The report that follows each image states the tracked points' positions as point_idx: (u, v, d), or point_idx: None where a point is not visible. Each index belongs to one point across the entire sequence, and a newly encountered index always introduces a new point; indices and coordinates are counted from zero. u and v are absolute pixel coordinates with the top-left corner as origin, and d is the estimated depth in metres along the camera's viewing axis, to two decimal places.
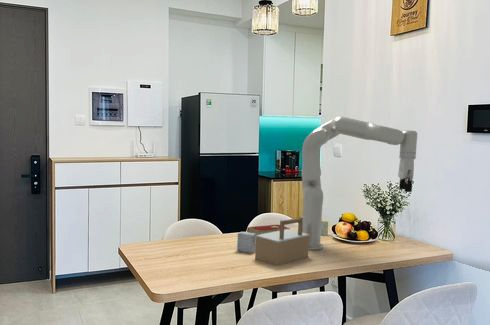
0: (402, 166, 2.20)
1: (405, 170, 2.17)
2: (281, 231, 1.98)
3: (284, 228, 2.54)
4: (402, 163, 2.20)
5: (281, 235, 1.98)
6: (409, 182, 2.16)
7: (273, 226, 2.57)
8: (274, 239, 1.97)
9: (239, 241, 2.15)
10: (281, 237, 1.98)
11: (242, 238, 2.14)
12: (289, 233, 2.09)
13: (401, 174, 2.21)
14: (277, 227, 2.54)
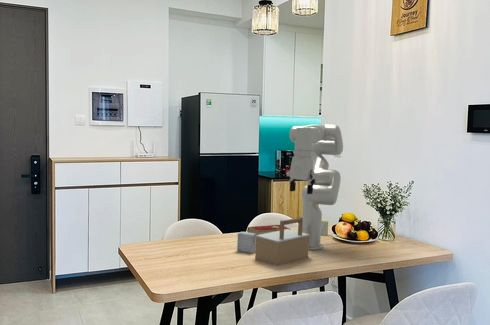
0: (302, 166, 1.98)
1: (308, 170, 1.97)
2: (281, 231, 1.98)
3: (284, 228, 2.53)
4: (302, 163, 1.99)
5: (281, 235, 1.98)
6: (313, 183, 1.98)
7: (273, 226, 2.57)
8: (274, 239, 1.97)
9: (239, 241, 2.15)
10: (281, 237, 1.98)
11: (242, 238, 2.14)
12: (289, 233, 2.09)
13: (301, 175, 1.99)
14: (277, 227, 2.54)
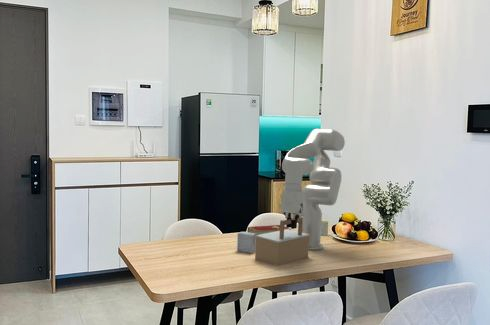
0: (293, 199, 1.98)
1: (298, 204, 1.97)
2: (281, 231, 1.98)
3: (284, 228, 2.53)
4: (292, 196, 1.98)
5: (281, 235, 1.98)
6: (297, 218, 2.00)
7: (274, 226, 2.57)
8: (274, 239, 1.97)
9: (239, 241, 2.15)
10: (281, 237, 1.98)
11: (242, 238, 2.14)
12: (289, 233, 2.09)
13: (291, 208, 1.99)
14: (277, 227, 2.53)
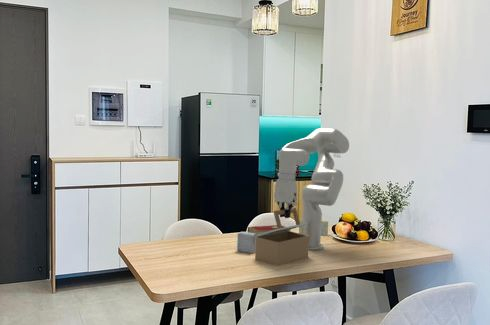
0: (286, 189, 2.01)
1: (292, 193, 2.00)
2: (277, 221, 1.99)
3: None
4: (286, 186, 2.01)
5: (278, 225, 1.99)
6: (290, 208, 2.03)
7: (274, 226, 2.56)
8: (273, 230, 1.97)
9: (239, 241, 2.15)
10: (279, 227, 1.98)
11: (242, 238, 2.14)
12: None
13: (285, 198, 2.01)
14: None
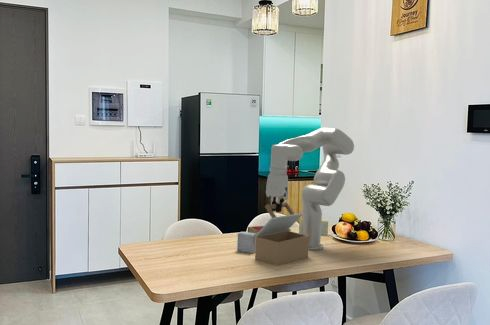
0: (278, 183, 2.04)
1: (283, 188, 2.03)
2: (271, 213, 2.02)
3: None
4: (277, 180, 2.04)
5: (273, 216, 2.01)
6: (281, 202, 2.06)
7: None
8: None
9: (239, 241, 2.15)
10: None
11: (242, 238, 2.14)
12: None
13: (276, 192, 2.05)
14: None
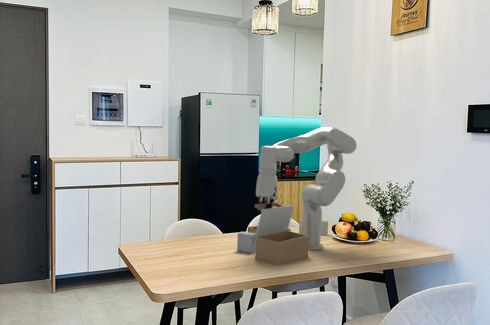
0: (267, 184, 2.09)
1: (272, 188, 2.07)
2: (261, 209, 2.05)
3: None
4: (266, 181, 2.09)
5: None
6: (271, 202, 2.10)
7: None
8: None
9: (239, 241, 2.15)
10: None
11: (242, 238, 2.14)
12: None
13: (265, 192, 2.09)
14: None
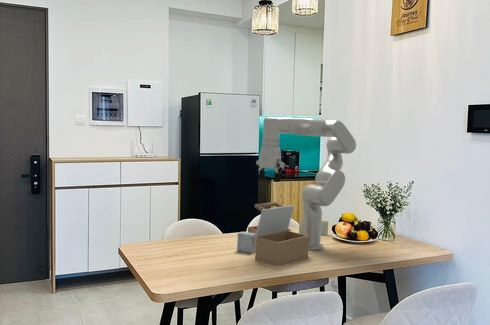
0: (270, 155, 2.08)
1: (275, 159, 2.06)
2: (261, 209, 2.05)
3: None
4: (269, 152, 2.08)
5: None
6: (280, 171, 2.07)
7: None
8: None
9: (239, 241, 2.15)
10: None
11: (242, 238, 2.14)
12: None
13: (268, 164, 2.08)
14: None
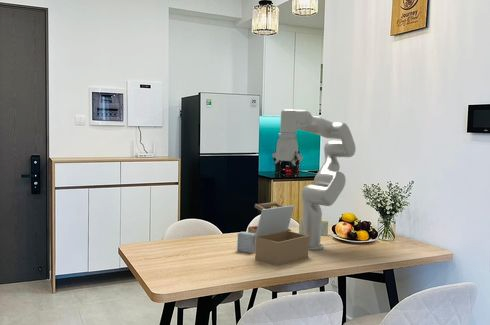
0: (287, 147, 2.06)
1: (293, 151, 2.05)
2: (261, 209, 2.05)
3: None
4: (287, 144, 2.06)
5: None
6: (297, 164, 2.06)
7: None
8: None
9: (239, 241, 2.15)
10: None
11: (242, 238, 2.14)
12: None
13: (286, 156, 2.07)
14: None
